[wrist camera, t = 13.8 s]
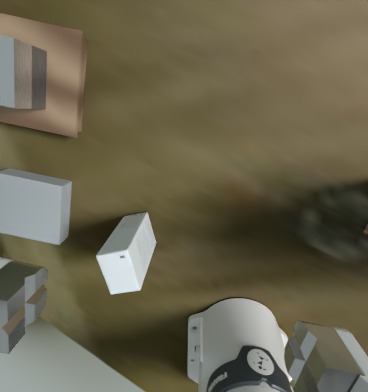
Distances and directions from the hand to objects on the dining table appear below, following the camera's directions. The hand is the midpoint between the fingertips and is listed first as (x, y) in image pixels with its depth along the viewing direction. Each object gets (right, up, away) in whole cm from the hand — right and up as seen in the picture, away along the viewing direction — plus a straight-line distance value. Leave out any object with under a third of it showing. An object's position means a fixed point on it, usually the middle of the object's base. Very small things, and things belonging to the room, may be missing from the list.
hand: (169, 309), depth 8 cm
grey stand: (-23, +2, +33) cm, 41 cm away
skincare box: (-7, -2, +34) cm, 35 cm away
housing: (-20, +19, +25) cm, 37 cm away
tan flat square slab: (-19, +20, +27) cm, 39 cm away
